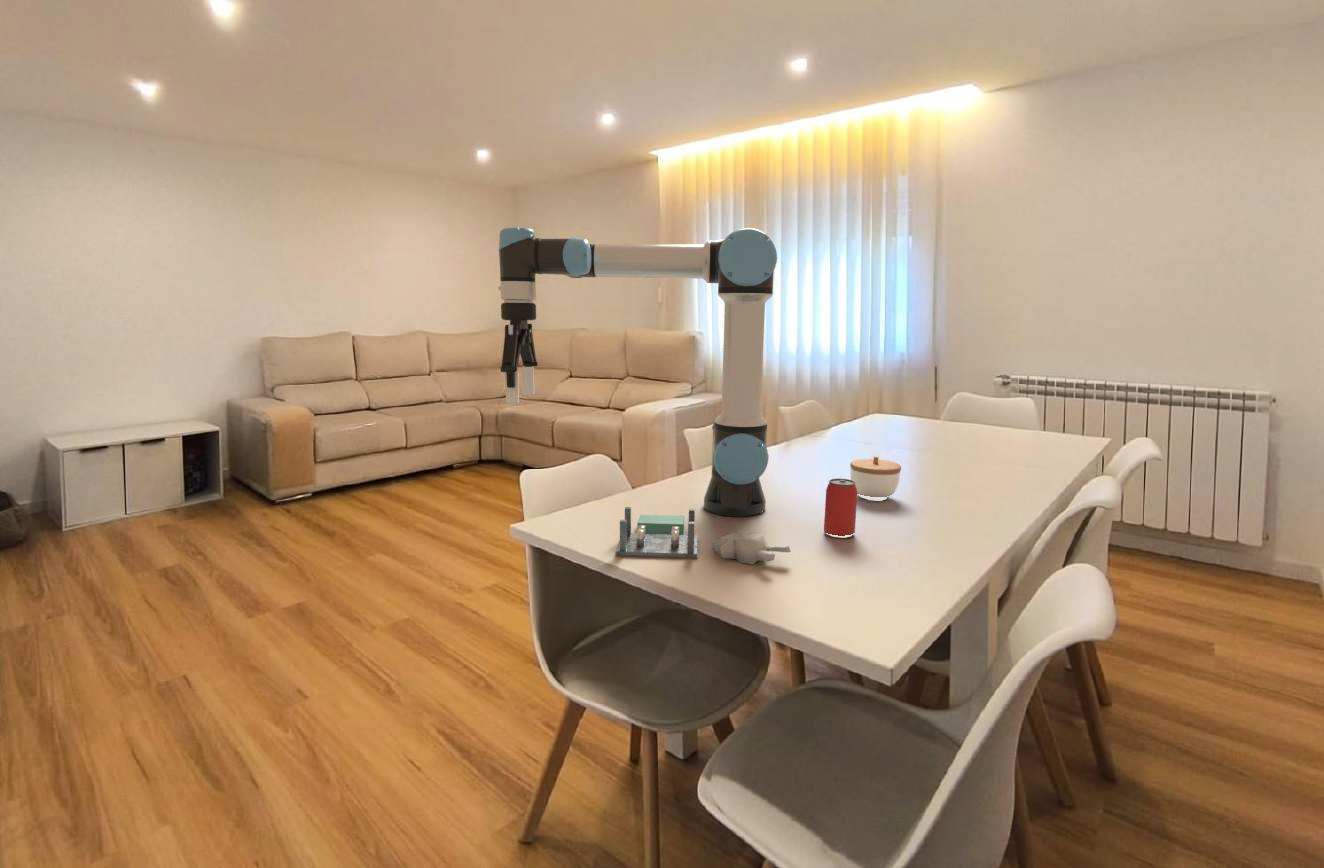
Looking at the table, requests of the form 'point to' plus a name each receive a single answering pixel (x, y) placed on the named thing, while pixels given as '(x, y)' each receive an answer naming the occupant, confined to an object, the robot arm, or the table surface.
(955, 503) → the table surface
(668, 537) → the chassis
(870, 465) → the lidded bowl
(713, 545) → the bunny figurine
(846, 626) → the table surface
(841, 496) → the beer can
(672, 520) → the green rectangular block
